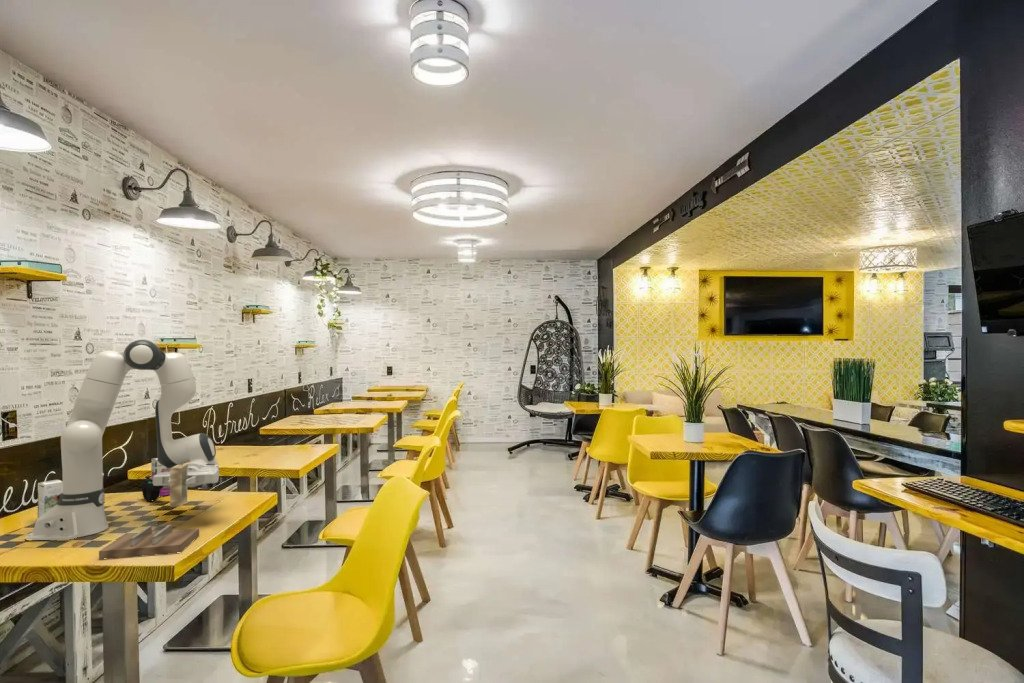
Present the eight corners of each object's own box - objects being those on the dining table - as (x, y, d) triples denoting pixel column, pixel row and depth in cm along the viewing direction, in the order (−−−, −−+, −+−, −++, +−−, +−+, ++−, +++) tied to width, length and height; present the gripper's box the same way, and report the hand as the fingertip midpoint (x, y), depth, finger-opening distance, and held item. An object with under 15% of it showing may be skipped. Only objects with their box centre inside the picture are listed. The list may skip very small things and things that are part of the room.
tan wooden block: (170, 507, 183) (170, 468, 184) (177, 502, 189) (177, 464, 190) (180, 506, 184) (180, 467, 184) (187, 501, 190) (187, 464, 190)
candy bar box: (155, 498, 231) (155, 460, 232) (150, 496, 234) (150, 458, 235) (183, 492, 240) (183, 455, 241) (178, 491, 243) (178, 454, 244)
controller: (150, 498, 232) (150, 474, 233) (164, 502, 226) (164, 477, 226) (139, 500, 229) (139, 476, 229) (153, 504, 222) (153, 480, 222)
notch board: (98, 559, 162) (98, 542, 162) (125, 541, 178) (125, 526, 178) (179, 553, 167) (179, 536, 167) (199, 535, 182) (199, 520, 182)
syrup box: (56, 517, 206) (56, 479, 207) (63, 519, 203) (63, 480, 204) (37, 521, 202) (37, 482, 202) (44, 523, 199) (44, 484, 199)
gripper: (162, 466, 198) (144, 475, 184) (223, 464, 201) (210, 472, 188) (162, 484, 197) (144, 493, 184) (223, 481, 201) (209, 490, 188)
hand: (178, 482), depth 186 cm, fingers closed on tan wooden block, 3 cm apart
